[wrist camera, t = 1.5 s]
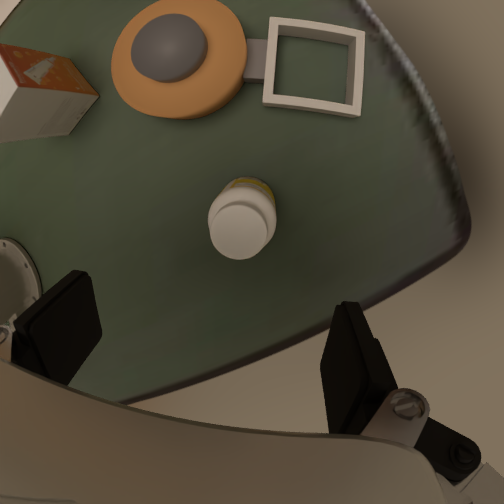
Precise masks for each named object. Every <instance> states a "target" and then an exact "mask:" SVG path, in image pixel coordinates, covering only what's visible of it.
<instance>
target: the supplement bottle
mask: <svg viewBox="0 0 504 504" xmlns="http://www.w3.org/2000/svg"><path fill="white" fill-rule="evenodd" d="M276 222H277V218H276V207H275V199H274V195H273V193H272V191H271V189H270V188H269V186H268V185H267V184H266V183H265V182H263V181H262V180H260V179H258V178H255V177H250V176H244V177H239V178H236V179H234V180H233V181H231V182H230V183H229V184H228V185H226V187H225V188H224V189H223V190H222V191H221V193H220V194H219V195H218V196H217V198H216V199H215V200H214V202H213V203H212V205H211V207H210V210H209V214H208V226H209V230H210V237H211V240H212V243H213V245H214V246H215V248H216V249H217V250H218V251H219V252H220V253H221V254H223V255H224V256H226V257H228V258H231V259H238V260H241V259H247V258H250V257H252V256H254V255H256V254H257V253H258V252H259V251H260V250H261V249H262V248H263V247H264V246H265V245H266V244H267V243H268V242H269V241H270V239H271V238H272V236H273V234H274V232H275V229H276Z"/></svg>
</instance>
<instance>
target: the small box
mask: <svg viewBox="0 0 504 504" xmlns="http://www.w3.org/2000/svg"><path fill="white" fill-rule="evenodd" d="M98 97H99V94H98V93H97V92H96V91H95V90H94V89H93V88H92V87H91V85H90V84H89V83H88V82H87V81H86V79H85V78H84V77H83V76H82V75H81V73H80V72H79V71H78V69H77V68H76V67H75V66H74V64H73V63H72V62H71V60H70V59H69V58H65V57H61V56H57V55H53V54H49V53H45V52H40V51H36V50H32V49H27V48H22V47H17V46H11V45H6V44H0V143H6V142H13V141H20V140H27V139H35V138H44V137H53V136H64V135H69V134H70V132H71V131H72V130H73V128H74V127H75V126H76V124H77V123H78V122H79V121H80V119H81V118H82V117H83V115H84V114H85V113H86V112H87V110H88V109H89V108H90V107H91V106H92V104H93V103H94V102H95V101H96V100H97V98H98Z"/></svg>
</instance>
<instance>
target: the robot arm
mask: <svg viewBox="0 0 504 504" xmlns="http://www.w3.org/2000/svg"><path fill="white" fill-rule="evenodd" d="M41 294H42V291H41V283H40V279H39V276H38V273H37V270H36V268H35V266H34V263H33V262H32V260H31V258H30V256H29V255H28V254H27V252H26V251H25V250H24V249H23V247H22V246H21V245H20V244H18V243H17V242H16V241H14V240H12V239H10V238H2V239H0V504H504V478H503V477H502V476H501V475H500V474H499V473H498V472H496V470H494V469H493V468H492V467H491V466H490V465H489V464H488V463H487V462H486V463H485V464H484V465H483V464H482V463H481V452H480V450H479V447H478V446H477V445H476V443H475V442H474V441H472V440H471V439H469V438H467V437H465V436H463V435H461V434H459V433H458V432H456V431H454V430H452V429H450V428H448V427H446V426H444V425H443V424H441V423H439V422H437V421H435V420H433V419H431V418H430V417H428V416H429V412H430V407H429V404H428V402H427V400H426V398H424V396H423V395H422V394H420V393H419V392H417V391H415V390H412V389H408V388H400V389H398V386H397V384H396V381H395V379H394V376H393V374H392V371H391V369H390V366H389V364H388V361H387V359H386V356H385V354H384V352H383V349H382V347H381V345H380V342H379V341H378V339H376V338H374V337H373V335H372V333H371V330H370V328H369V325H368V323H367V321H366V318H365V316H364V314H363V311H362V309H361V307H360V305H359V303H358V302H348V301H343V302H342V303H341V305H336V307H335V311H334V315H333V319H332V323H331V327H330V330H329V334H328V338H327V342H326V345H325V348H324V352H323V355H322V359H321V363H320V372H321V378H322V385H323V392H324V399H325V406H326V413H327V421H328V428H329V434H328V433H326V434H325V433H301V432H283V431H270V430H258V429H248V428H239V427H230V426H223V425H216V424H210V423H203V422H198V421H192V420H187V419H181V418H176V417H172V416H167V415H162V414H158V413H154V412H149V411H145V410H141V409H138V408H134V407H130V406H126V405H123V404H119V403H116V402H113V401H109V400H106V399H103V398H100V397H97V396H94V395H91V394H88V393H85V392H82V391H79V390H76V389H74V388H71V387H68V384H69V383H70V381H71V380H72V378H73V377H74V375H75V374H76V373H77V371H78V370H79V368H80V367H81V365H82V364H83V363H84V361H85V360H86V358H87V357H88V356H89V354H90V353H91V352H92V350H93V349H94V347H95V346H96V345H97V343H98V342H99V341H100V339H101V337H102V328H101V324H100V320H99V315H98V311H97V306H96V301H95V296H94V291H93V285H92V280H91V277H90V276H88V273H87V272H85V271H79V270H73V271H71V272H70V273H69V274H67V275H66V276H65V277H64V278H63V279H61V280H60V281H59V282H58V283H56V284H55V285H54V286H53V287H52V288H50V289H49V290H48V291H47V292H46V293H45V294H43V295H42V296H41ZM8 320H9V324H10V327H11V328H10V327H9V326H7V325H4V324H5V323H6V322H7V321H8Z"/></svg>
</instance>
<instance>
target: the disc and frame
mask: <svg viewBox="0 0 504 504" xmlns="http://www.w3.org/2000/svg"><path fill="white" fill-rule="evenodd" d="M278 35H282V36H292V37H300V38H308V39H315V40H321V41H327V42H333V43H338V44H343V45H348V67H347V83H346V97H345V104H340V103H334V102H328V101H322V100H316V99H308V98H301V97H293V96H284V95H273V88H274V76H275V64H276V52H277V40H278ZM364 44H365V32H364V31H360V30H355V29H351V28H346V27H341V26H336V25H331V24H325V23H319V22H313V21H306V20H298V19H289V18H278V17H270V22H269V33H268V40H264V39H247V42H246V40H245V36H244V33H243V30H242V27H241V24H240V22H239V20H238V19H237V17H236V16H235V15H234V13H233V12H232V11H231V10H230V9H229V8H228V7H226V6H225V5H223V4H222V3H220V2H218V1H216V0H160V1H158V2H156V3H154V4H152V5H150V6H148V7H147V8H145V9H144V10H142V11H141V12H140V13H138V14H137V15H136V16H135V17H134V18H133V19H132V20H131V21H130V22H129V23H128V24H127V26H126V27H125V28H124V30H123V31H122V33H121V34H120V36H119V38H118V40H117V42H116V45H115V48H114V51H113V55H112V62H111V71H112V78H113V82H114V85H115V87H116V89H117V91H118V93H119V95H120V96H121V97H122V98H123V100H124V101H125V102H126V103H127V104H129V105H130V106H131V107H133V108H134V109H136V110H138V111H140V112H142V113H145V114H148V115H152V116H158V117H165V118H172V119H181V120H187V119H195V118H200V117H203V116H206V115H209V114H211V113H213V112H215V111H217V110H219V109H220V108H222V107H223V106H224V105H226V104H227V103H228V102H229V101H230V100H231V99H233V97H234V96H235V95H236V94H237V93H238V91H239V90H240V88H241V87H242V85H243V83H244V81H245V82H246V83H262V84H264V91H263V106H269V107H279V108H289V109H297V110H305V111H313V112H319V113H326V114H332V115H338V116H344V117H349V118H354V117H358V116H360V114H361V102H362V89H363V71H364Z"/></svg>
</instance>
